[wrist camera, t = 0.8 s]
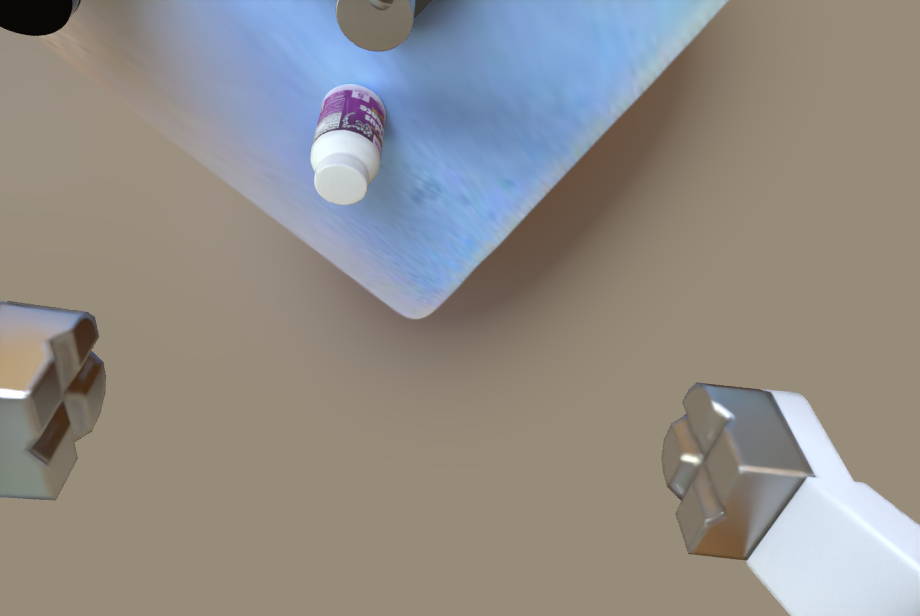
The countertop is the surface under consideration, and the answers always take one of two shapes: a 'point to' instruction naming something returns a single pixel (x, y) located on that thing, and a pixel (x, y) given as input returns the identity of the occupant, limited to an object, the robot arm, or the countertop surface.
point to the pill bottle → (348, 143)
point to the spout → (376, 22)
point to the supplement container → (36, 15)
